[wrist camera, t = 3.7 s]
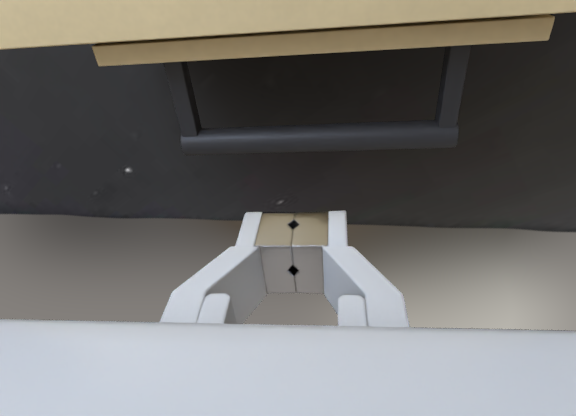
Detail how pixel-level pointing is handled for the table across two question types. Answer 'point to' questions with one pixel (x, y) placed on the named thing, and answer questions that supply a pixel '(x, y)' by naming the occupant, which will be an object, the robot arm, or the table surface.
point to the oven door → (317, 42)
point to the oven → (229, 17)
